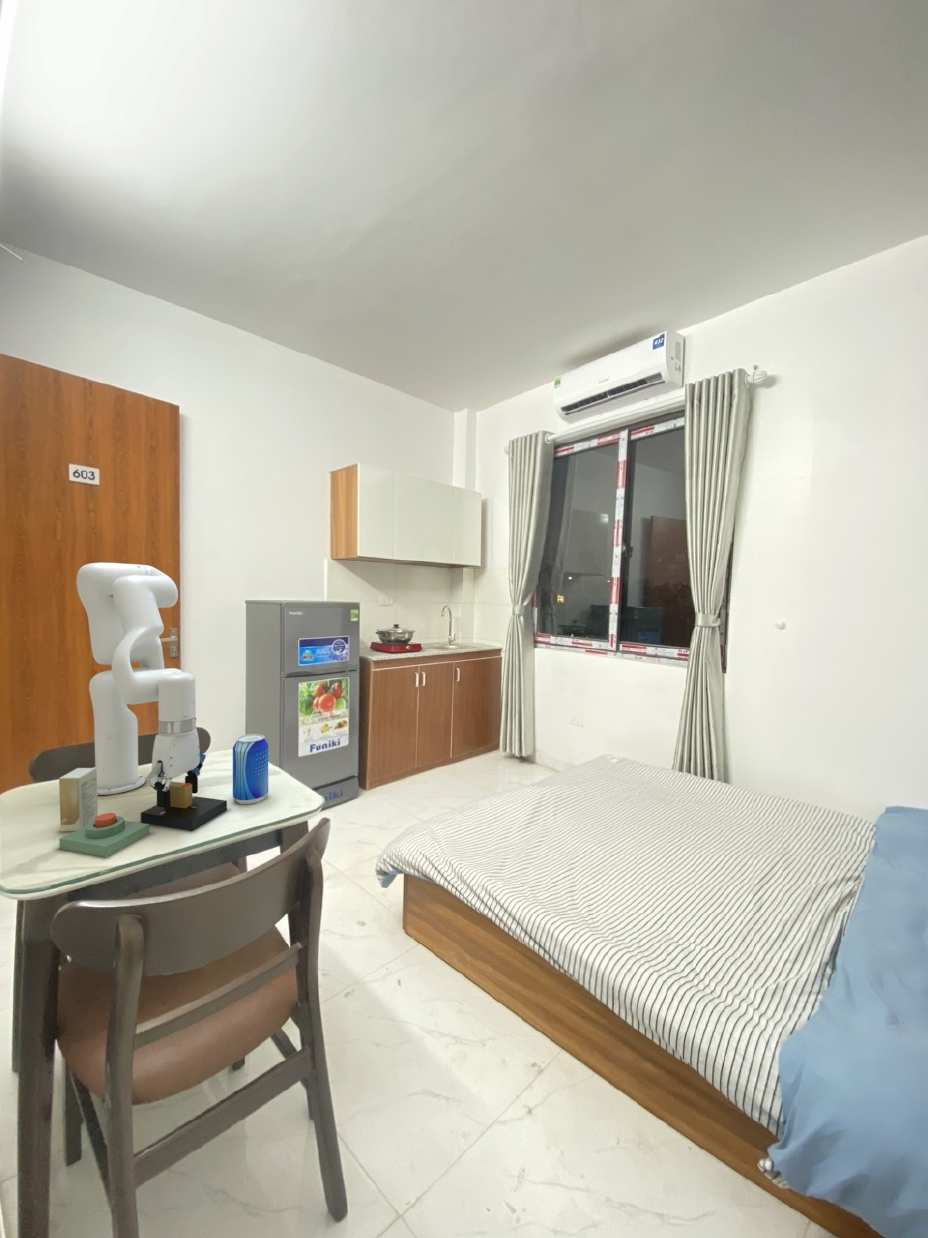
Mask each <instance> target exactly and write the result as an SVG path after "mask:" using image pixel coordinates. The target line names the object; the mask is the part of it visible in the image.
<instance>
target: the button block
mask: <svg viewBox="0 0 928 1238" xmlns="http://www.w3.org/2000/svg"><path fill="white" fill-rule="evenodd" d="M148 835H150V824H144V823H141V822H138V821H137V822H136V821H131V820H126V819H125V818H124V817H123V816H121V815H120V816H119V815H116V823H115V824H113V825H111V826H107V827H102V828H96V827H95V820H94V821H92V822H90V823H89V824H88V825H87V826H85V827H83V828H81V829H79V830H77V831H72V832H70V833H68V834H66V835H64V836H62V837H60V838H59V839H58V842H59V850H64V851H70V852H74V853H81V854H87V855H92V856H97V857H103V858H108V857H110V856H112V855H113V854H115V853H117V852H119V851H121V850H123V849H125V848H126V847H128V846H130V845H132V844H134V843H136V842H137V841H139V840H141V839H143V838H145V837H146V836H148Z"/></svg>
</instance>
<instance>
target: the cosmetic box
mask: <svg viewBox="0 0 928 1238" xmlns="http://www.w3.org/2000/svg"><path fill="white" fill-rule="evenodd" d="M58 786H59V787H58V791H59V813H60V814H59V817H60V818H59V819H60V821H59V822H60V832H75V831H77V830H79V829H81V828H83V827H85V826H87V825H88V824H89V823H90V822H92V821H94V820H95V818H96V817H97V816H99V805H98V804H99V803H98V802H99V801H98V798H99V797H98V795H97V768H94V767H76V768H75V769H73V770H70V771H69V772H67V773H66V774H64V775H62V776H60V777H59V778H58Z"/></svg>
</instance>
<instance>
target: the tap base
mask: <svg viewBox="0 0 928 1238" xmlns="http://www.w3.org/2000/svg"><path fill="white" fill-rule="evenodd" d="M227 811H228V800H225V799H218V798H211V797H205V796H198V795H192V805H191V806H189V807H187V808H178V807H171V806H170V807H168V808H164V807H158V806H157V804H156V805H153V806H151V807H150V808H147V809H145V810H144V811H141V812H140V823H144V824H149V826H156V827H162V828H163V827H165V828H170V829H177V830H183V831H189V832H193V831H194V832H195V830H198V828H200V827H202V826H204V825H205V824H207V823H209V822H211V821H212V820H213V819H216V818H217V817H218V816H220V815H222V814H223V813H225V812H227Z"/></svg>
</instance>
